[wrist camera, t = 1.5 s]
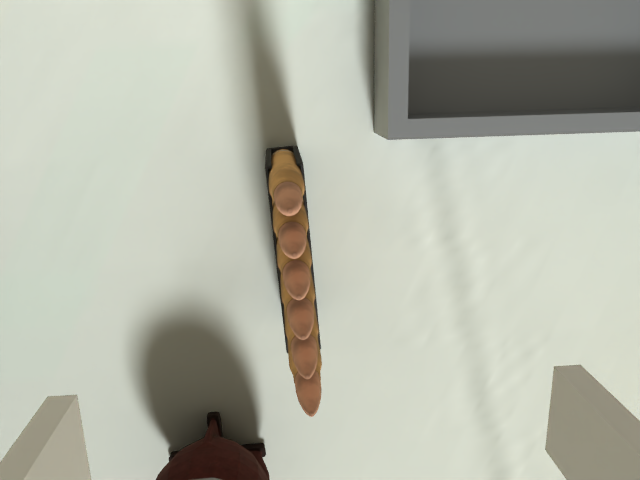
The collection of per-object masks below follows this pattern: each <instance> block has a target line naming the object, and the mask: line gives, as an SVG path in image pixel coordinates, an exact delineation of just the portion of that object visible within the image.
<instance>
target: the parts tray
mask: <svg viewBox="0 0 640 480" xmlns="http://www.w3.org/2000/svg"><path fill="white" fill-rule="evenodd" d="M635 131H640V0H375V23H374V132H375V133H376V134H378V135H380V136H382V137H384V138H386V139H388V140H395V139H425V138H455V137H485V136H515V135H545V134H575V133H605V132H635Z"/></svg>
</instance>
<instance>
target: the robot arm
mask: <svg viewBox="0 0 640 480" xmlns="http://www.w3.org/2000/svg"><path fill="white" fill-rule="evenodd" d="M545 450H546V452H547V453H548V454H549V456H550V457H551V458H552V460H553V461H554V463H555V464H556V465H557V467H558V468H559V470H560V471H561V472H562V474H563V475H564V477H565V478H566V479H567V480H640V421H639V420H638V419H637V418H636V417H635V416H634V415H633V414H632V413H631V412H630V411H628V410H627V409H626V408H625V407H624V406H623V405H622V404H621V403H620V402H619V401H618V400H617V399H616V398H615V397H614V396H613V395H612V394H611V393H610V392H608V391H607V390H606V389H605V388H604V387H603V386H602V385H601V384H600V383H599V382H598V381H597V380H596V379H595V378H594V377H593V376H592V375H591V374H590V373H588V372H587V371H586V370H585V369H584V368H583V367H582V366H581V365H569V366H554V372H553V382H552V391H551V400H550V410H549V419H548V429H547V438H546V447H545ZM0 480H91V475H90V469H89V463H88V457H87V451H86V445H85V439H84V433H83V427H82V421H81V415H80V409H79V403H78V397H77V395H67V396H50V397H47V398H46V400H45V401H44V402H43V404H42V405H41V406H40V408H39V409H38V411H37V412H36V413H35V415H34V416H33V418H32V419H31V420H30V422H29V423H28V425H27V426H26V427H25V429H24V430H23V431H22V433H21V434H20V436H19V437H18V438H17V440H16V441H15V443H14V444H13V445H12V447H11V448H10V450H9V451H8V452H7V454H6V455H5V457H4V458H3V459H2V461H1V462H0Z"/></svg>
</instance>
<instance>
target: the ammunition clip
mask: <svg viewBox="0 0 640 480" xmlns="http://www.w3.org/2000/svg"><path fill="white" fill-rule="evenodd" d="M265 169H266V178H267V187H268V195H269V204H270V212H271V221H272V230H273V238H274V247H275V255H276V264H277V273H278V281H279V290H280V299H281V307H282V316H283V324H284V333H285V342H286V350H287V353H288V355H289V366H290V369H291V372H292V374H293V377H294V383H295V387H296V394H297V397H298V400H299V403H300V405H301V407H302V408H303V410H304V412H305V413H306V414H307V415H309V416H311V417H312V416H314V415H315V414H316V412H317V410H318V407H319V404H320V400H321V382H320V380H321V377H320V370H321V365H322V362H321V354H320V349H321V345H320V334H319V324H318V314H317V303H316V293H315V283H314V272H313V262H312V251H311V241H310V231H309V220H308V210H307V199H306V189H305V179H304V168H303V162H302V159H301V156H300V153H299V150H298V147H297V146H288V147H278V148H268V149H267V150H266V164H265Z"/></svg>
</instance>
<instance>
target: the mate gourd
mask: <svg viewBox="0 0 640 480" xmlns="http://www.w3.org/2000/svg"><path fill="white" fill-rule="evenodd" d="M207 424H208V429H207V431H206V434H205V437H204V438H202V439H200V440H198V441H196V442H194V443H192V444H190V445H188V446H186V447H184V448H183V449H181V450H180V451H174V452H172V453H171V455H170V457H169V463H168V464H167V465H166V466H165V467H164V468H163V469H162V471H161V472H160V473H159V475H158V476H157V479H156V480H269V473H268V470H267V467H266V465H265V463H264V461H263V458H262V457H265V455H266V451H265V446H264V444H263V443H256V444H245V445H240V444H238V443H237V442H235V441H232V440H229V439H226V438H223V435H222V426H221V418H220V413H219V412H210V413H208V415H207Z"/></svg>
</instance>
